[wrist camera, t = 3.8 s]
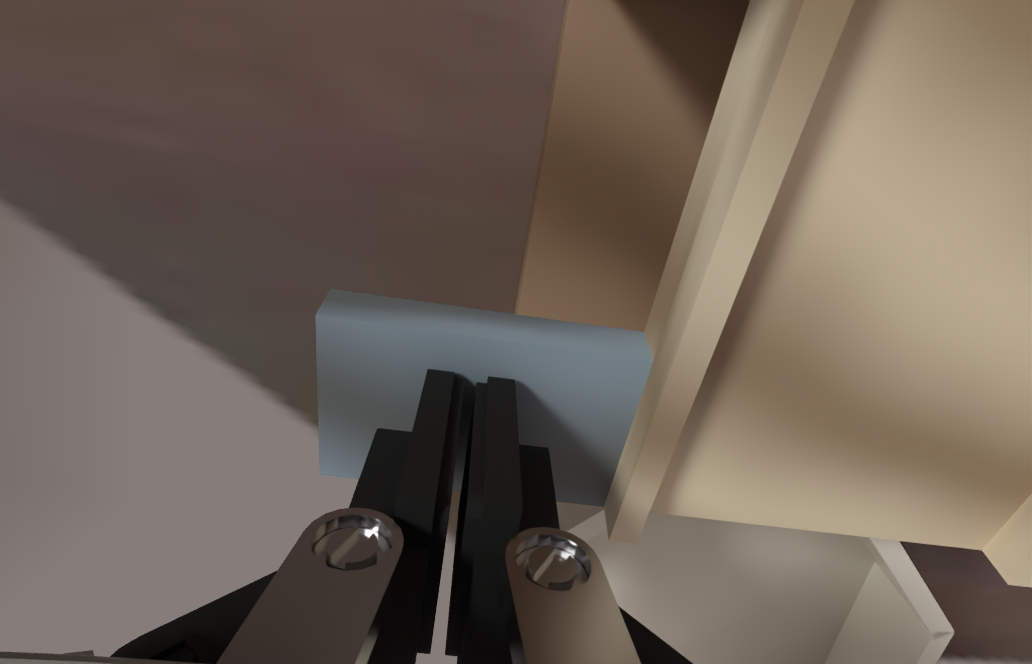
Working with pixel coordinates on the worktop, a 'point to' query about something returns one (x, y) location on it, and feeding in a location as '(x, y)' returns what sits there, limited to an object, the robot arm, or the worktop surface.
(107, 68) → the worktop surface
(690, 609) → the octagonal cream dish
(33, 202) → the worktop surface
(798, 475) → the lever
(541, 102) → the worktop surface
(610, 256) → the lever stand
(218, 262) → the worktop surface
